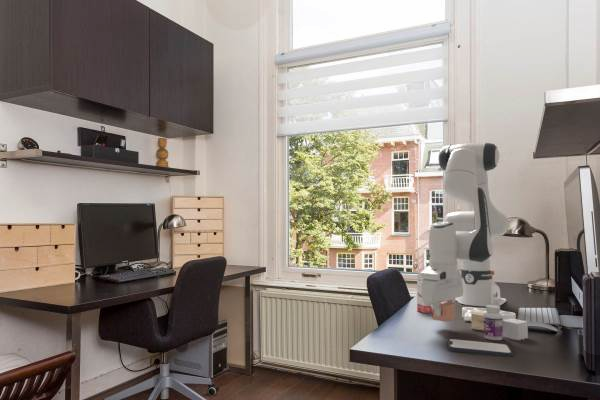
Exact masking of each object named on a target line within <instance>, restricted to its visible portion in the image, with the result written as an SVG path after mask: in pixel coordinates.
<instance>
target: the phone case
mask: <svg viewBox="0 0 600 400" xmlns="http://www.w3.org/2000/svg"><path fill="white" fill-rule="evenodd" d="M447 345H448V351H449V352H451V353H462V354H463V353H464V354H472V355H485V356H486V355H487V356H495V355H499V356H498V357H507V356H511V357H513V351H512V350H511V348H510V346H509V345H508V344H505V343H496V342H495V343H494V342H485V341H477V340H476V341H474V340H466V339H465V340H463V339H455V338H453V339H452V338H449V339H448V341H447Z"/></svg>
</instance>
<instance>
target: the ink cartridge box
mask: <svg viewBox="0 0 600 400" xmlns="http://www.w3.org/2000/svg"><path fill="white" fill-rule="evenodd" d="M422 281H423V279H422V278H421V272H418V273H417V281H416V297H417V298H416V307H417V308H416V311H418V312H419V313H423V314H431V313H432V314H433V305H431V304H426V303H424V302H423V300H422Z"/></svg>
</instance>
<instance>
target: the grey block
mask: <svg viewBox="0 0 600 400" xmlns="http://www.w3.org/2000/svg"><path fill="white" fill-rule="evenodd" d="M528 332H529V329H528V321H526V320H522V319H517V318H516V319H507V320H503V338H507V339H511V340H514V341H518V340H519V341H522V340H525V338H526V339H528V338H529V336H528V335H529V333H528ZM521 339H522V340H521Z"/></svg>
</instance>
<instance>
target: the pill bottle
mask: <svg viewBox="0 0 600 400" xmlns="http://www.w3.org/2000/svg"><path fill="white" fill-rule="evenodd" d="M485 308H486V311H487V312H485V313H484V315H483V318H484V330H483V337H484V338H485V339H486V340H490V341H501V340H503V339H504V337H503V316H502V314H501V313H499V312H500V310H501V306H496V305H486V306H485Z"/></svg>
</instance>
